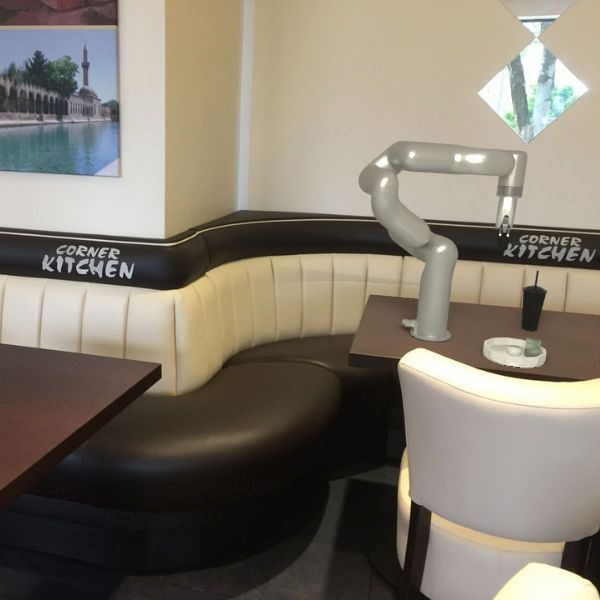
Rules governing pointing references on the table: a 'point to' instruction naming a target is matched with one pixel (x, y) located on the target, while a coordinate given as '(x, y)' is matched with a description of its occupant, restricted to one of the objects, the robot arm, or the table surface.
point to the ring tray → (505, 359)
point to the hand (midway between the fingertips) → (502, 247)
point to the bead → (532, 347)
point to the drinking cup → (532, 305)
